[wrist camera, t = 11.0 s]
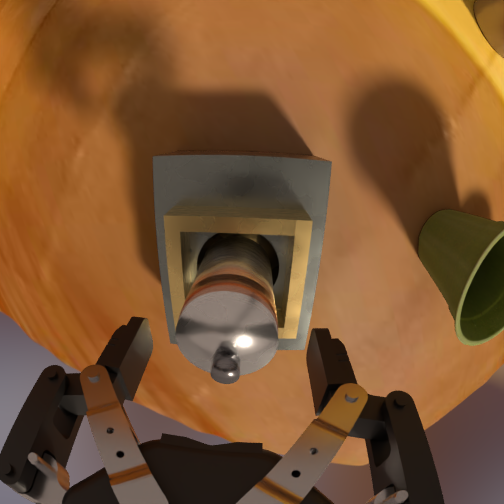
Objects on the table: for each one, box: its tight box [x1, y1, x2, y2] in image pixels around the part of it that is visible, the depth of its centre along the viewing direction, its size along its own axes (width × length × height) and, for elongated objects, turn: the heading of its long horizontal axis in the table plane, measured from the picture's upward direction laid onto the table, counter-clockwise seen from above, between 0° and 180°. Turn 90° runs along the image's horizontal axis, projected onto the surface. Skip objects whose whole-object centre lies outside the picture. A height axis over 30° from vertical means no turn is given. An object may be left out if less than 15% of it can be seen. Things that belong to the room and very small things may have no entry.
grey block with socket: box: [153, 151, 332, 350], centre depth 22 cm, size 16×12×8 cm
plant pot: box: [418, 209, 504, 346], centre depth 21 cm, size 12×12×11 cm
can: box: [175, 236, 278, 384], centre depth 16 cm, size 5×5×9 cm
